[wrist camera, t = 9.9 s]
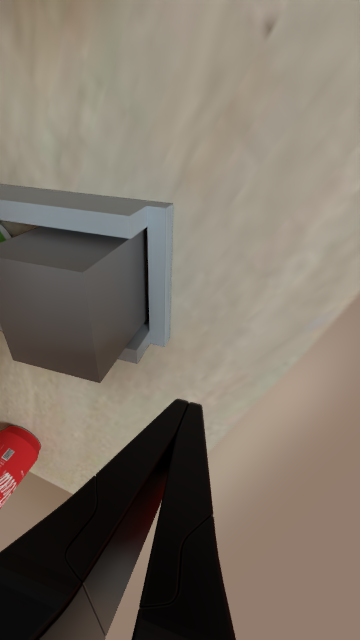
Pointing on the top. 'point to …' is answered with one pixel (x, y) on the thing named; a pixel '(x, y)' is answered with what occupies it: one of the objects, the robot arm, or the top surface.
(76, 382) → the top surface
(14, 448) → the beverage can
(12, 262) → the block
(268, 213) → the top surface
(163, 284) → the tray
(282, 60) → the top surface
